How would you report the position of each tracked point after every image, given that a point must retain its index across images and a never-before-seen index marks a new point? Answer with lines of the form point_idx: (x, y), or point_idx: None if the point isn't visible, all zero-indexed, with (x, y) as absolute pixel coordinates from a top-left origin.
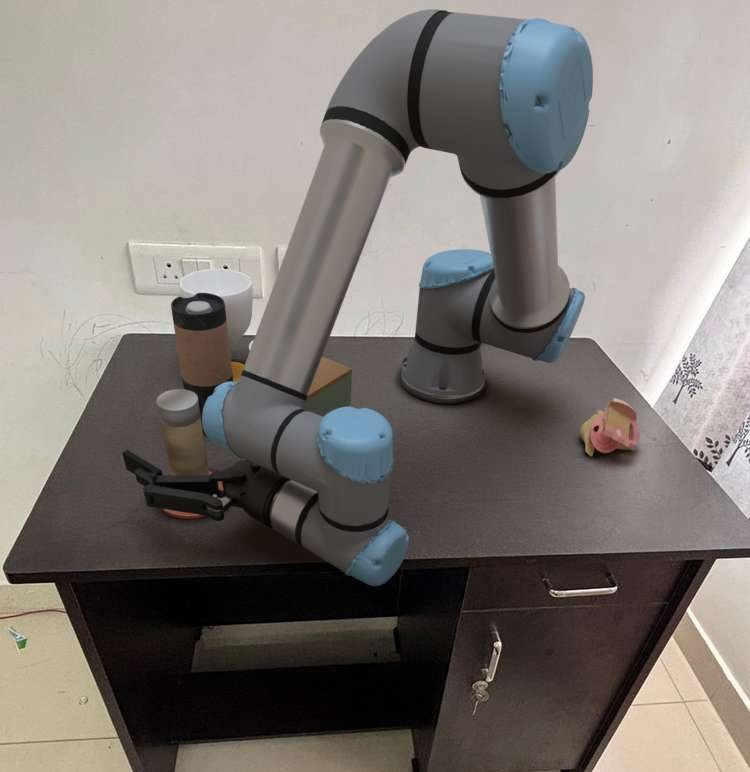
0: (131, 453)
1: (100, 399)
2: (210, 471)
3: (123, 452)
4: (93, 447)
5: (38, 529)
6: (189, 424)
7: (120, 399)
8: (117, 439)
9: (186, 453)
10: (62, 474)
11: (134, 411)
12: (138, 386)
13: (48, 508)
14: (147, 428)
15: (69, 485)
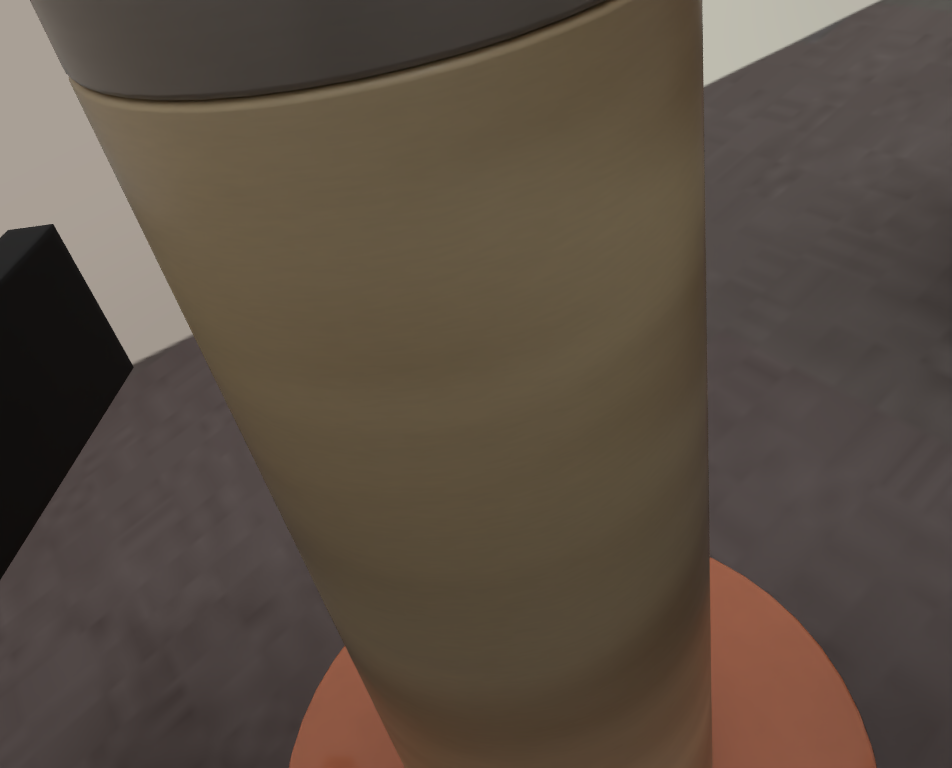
0: (7, 263)
1: (725, 79)
2: (826, 659)
3: (11, 234)
4: None
5: None
6: (202, 81)
7: (787, 93)
8: None
9: (297, 516)
10: None
11: (789, 143)
12: (898, 65)
13: (130, 379)
14: (765, 222)
15: None
